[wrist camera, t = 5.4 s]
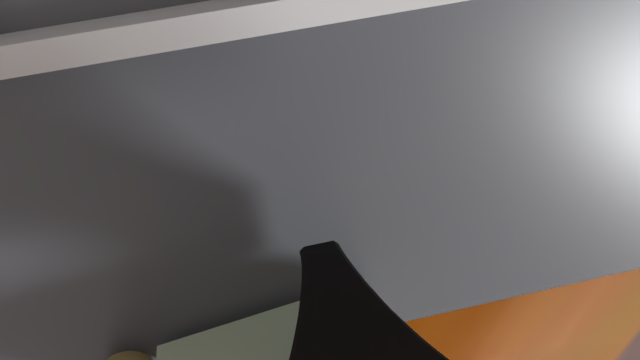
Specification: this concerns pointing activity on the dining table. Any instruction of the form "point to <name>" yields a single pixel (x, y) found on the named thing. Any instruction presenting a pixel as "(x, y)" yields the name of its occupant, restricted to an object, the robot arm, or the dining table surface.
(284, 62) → the console
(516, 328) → the dining table surface
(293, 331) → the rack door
